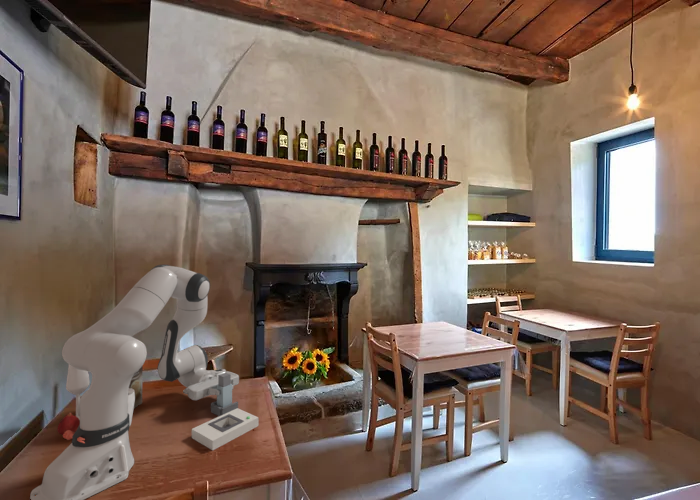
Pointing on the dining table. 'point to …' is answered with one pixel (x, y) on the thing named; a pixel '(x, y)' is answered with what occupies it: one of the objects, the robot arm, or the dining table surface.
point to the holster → (219, 410)
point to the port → (224, 428)
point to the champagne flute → (77, 384)
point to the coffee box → (137, 386)
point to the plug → (224, 390)
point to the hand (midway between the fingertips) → (225, 390)
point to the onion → (68, 424)
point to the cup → (131, 403)
